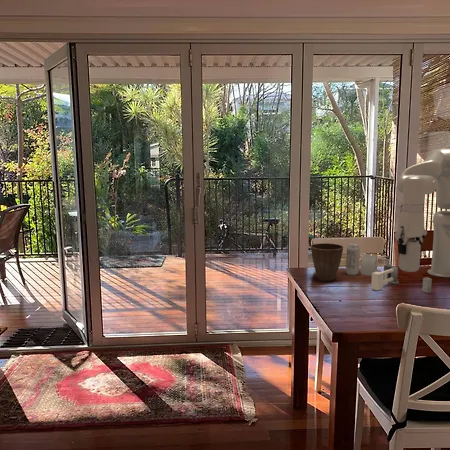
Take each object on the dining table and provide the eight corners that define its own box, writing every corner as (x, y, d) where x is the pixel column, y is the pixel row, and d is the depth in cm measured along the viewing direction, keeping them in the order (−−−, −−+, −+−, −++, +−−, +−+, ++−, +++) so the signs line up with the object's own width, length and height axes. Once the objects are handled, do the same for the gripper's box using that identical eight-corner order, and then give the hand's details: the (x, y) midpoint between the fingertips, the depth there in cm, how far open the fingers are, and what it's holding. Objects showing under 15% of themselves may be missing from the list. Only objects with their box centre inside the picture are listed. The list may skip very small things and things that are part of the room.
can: (421, 272, 166) (423, 242, 164) (400, 271, 167) (402, 241, 165) (416, 267, 173) (418, 238, 171) (396, 266, 174) (398, 237, 173)
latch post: (426, 290, 187) (427, 277, 186) (430, 292, 185) (431, 278, 184) (422, 291, 186) (423, 278, 185) (426, 292, 184) (427, 279, 183)
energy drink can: (361, 274, 212) (362, 245, 210) (352, 276, 209) (353, 246, 207) (351, 272, 218) (353, 243, 215) (343, 273, 215) (344, 244, 212)
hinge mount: (388, 279, 204) (389, 264, 203) (400, 283, 197) (401, 267, 196) (381, 280, 202) (382, 265, 201) (393, 285, 196) (394, 269, 194)
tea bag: (374, 276, 209) (375, 256, 208) (360, 274, 214) (361, 254, 212) (376, 275, 212) (377, 255, 210) (363, 272, 216) (364, 253, 215)
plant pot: (307, 281, 201) (308, 248, 198) (312, 273, 215) (313, 242, 212) (340, 284, 196) (342, 250, 194) (342, 276, 210) (344, 244, 208)
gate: (398, 282, 198) (399, 267, 197) (377, 290, 187) (378, 274, 186) (392, 281, 200) (393, 266, 199) (371, 288, 189) (371, 273, 188)
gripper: (420, 206, 173) (417, 249, 176) (388, 208, 166) (386, 253, 169) (436, 208, 166) (433, 252, 169) (404, 211, 159) (401, 257, 162)
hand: (409, 252), depth 169 cm, fingers closed on can, 7 cm apart
